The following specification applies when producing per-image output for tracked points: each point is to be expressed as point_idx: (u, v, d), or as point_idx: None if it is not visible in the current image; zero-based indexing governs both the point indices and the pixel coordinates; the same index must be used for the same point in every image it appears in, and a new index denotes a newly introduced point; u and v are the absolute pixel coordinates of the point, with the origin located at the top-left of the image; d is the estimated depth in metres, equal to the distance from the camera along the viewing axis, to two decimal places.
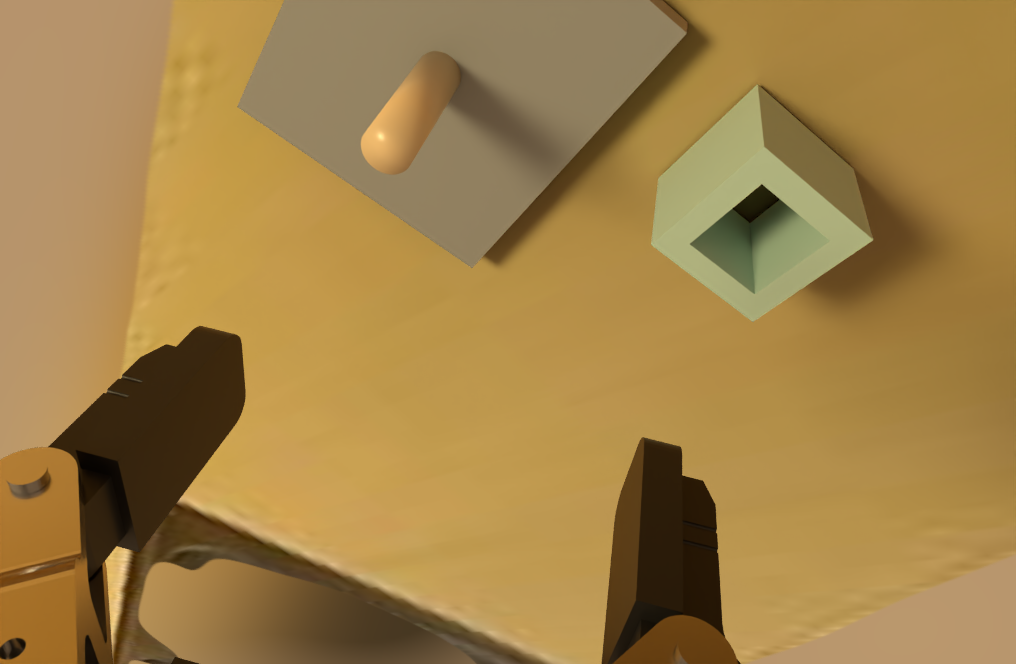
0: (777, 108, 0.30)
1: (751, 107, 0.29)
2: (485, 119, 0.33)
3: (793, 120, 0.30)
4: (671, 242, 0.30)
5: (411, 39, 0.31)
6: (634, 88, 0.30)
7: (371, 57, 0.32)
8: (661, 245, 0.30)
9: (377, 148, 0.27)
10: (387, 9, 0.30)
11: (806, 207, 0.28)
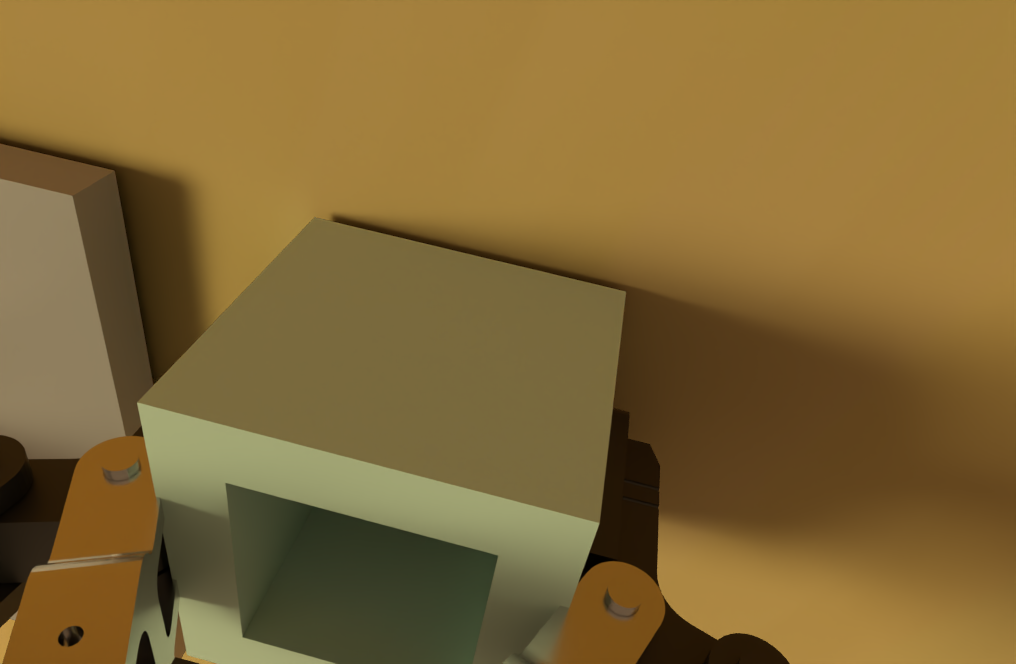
0: (356, 249, 0.13)
1: None
2: None
3: (410, 257, 0.13)
4: (211, 642, 0.12)
5: None
6: (99, 329, 0.15)
7: None
8: (203, 651, 0.12)
9: None
10: None
11: (366, 500, 0.09)
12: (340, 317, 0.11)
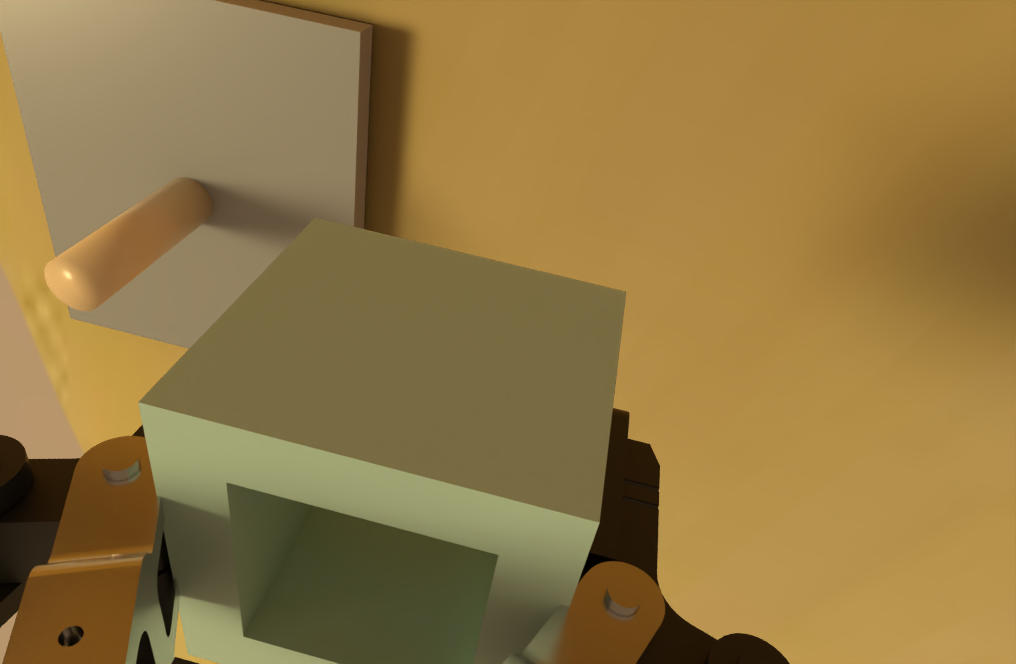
0: (357, 249, 0.13)
1: None
2: (255, 223, 0.29)
3: (411, 257, 0.13)
4: (212, 641, 0.12)
5: (149, 179, 0.29)
6: (355, 118, 0.26)
7: None
8: (204, 651, 0.12)
9: (65, 287, 0.24)
10: (115, 162, 0.29)
11: (367, 499, 0.09)
12: (341, 317, 0.11)
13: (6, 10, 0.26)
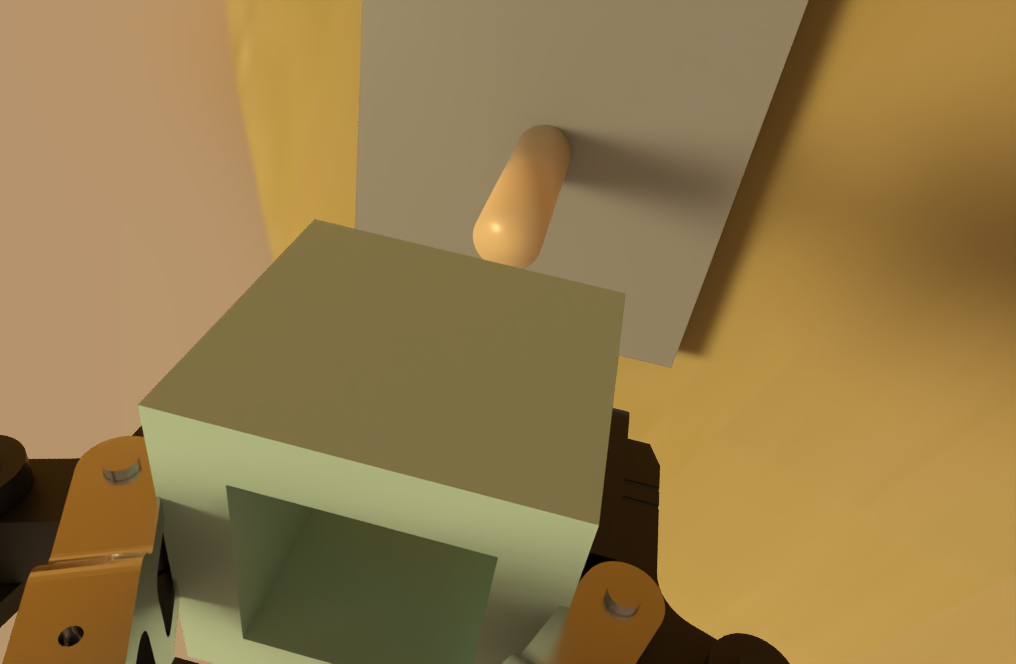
0: (356, 251, 0.13)
1: None
2: (617, 178, 0.26)
3: (411, 258, 0.13)
4: (212, 643, 0.12)
5: (499, 128, 0.26)
6: (787, 50, 0.23)
7: (465, 170, 0.27)
8: (203, 652, 0.12)
9: (495, 242, 0.20)
10: (463, 108, 0.26)
11: (366, 501, 0.09)
12: (340, 319, 0.11)
13: None
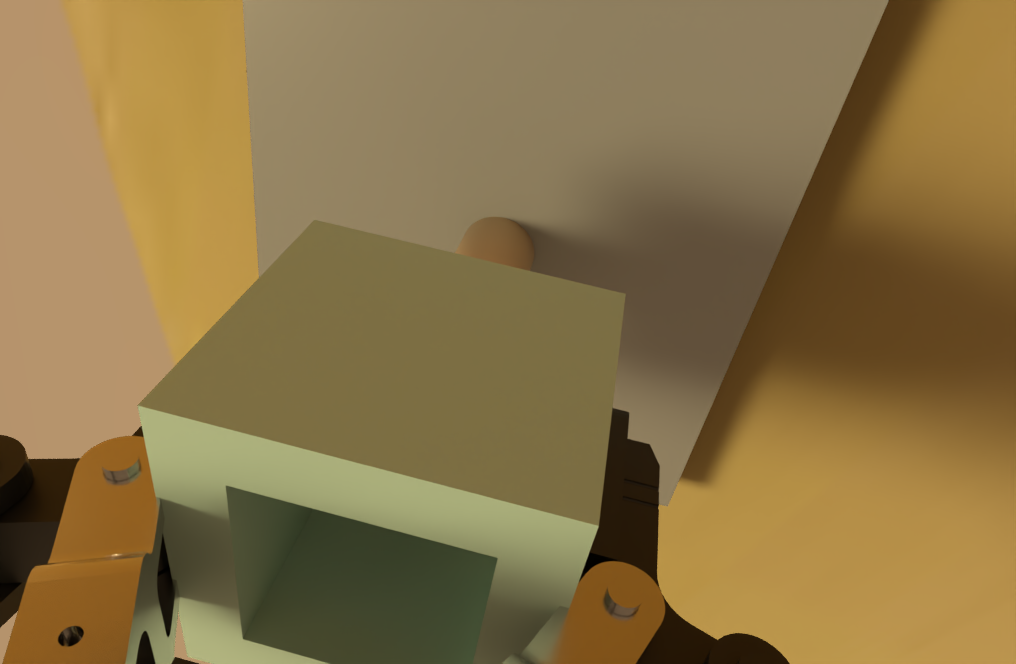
0: (356, 251, 0.13)
1: None
2: (595, 285, 0.20)
3: (411, 259, 0.13)
4: (211, 644, 0.12)
5: (438, 220, 0.19)
6: (829, 129, 0.16)
7: None
8: (203, 653, 0.12)
9: None
10: (388, 193, 0.19)
11: (365, 502, 0.09)
12: (340, 320, 0.11)
13: None
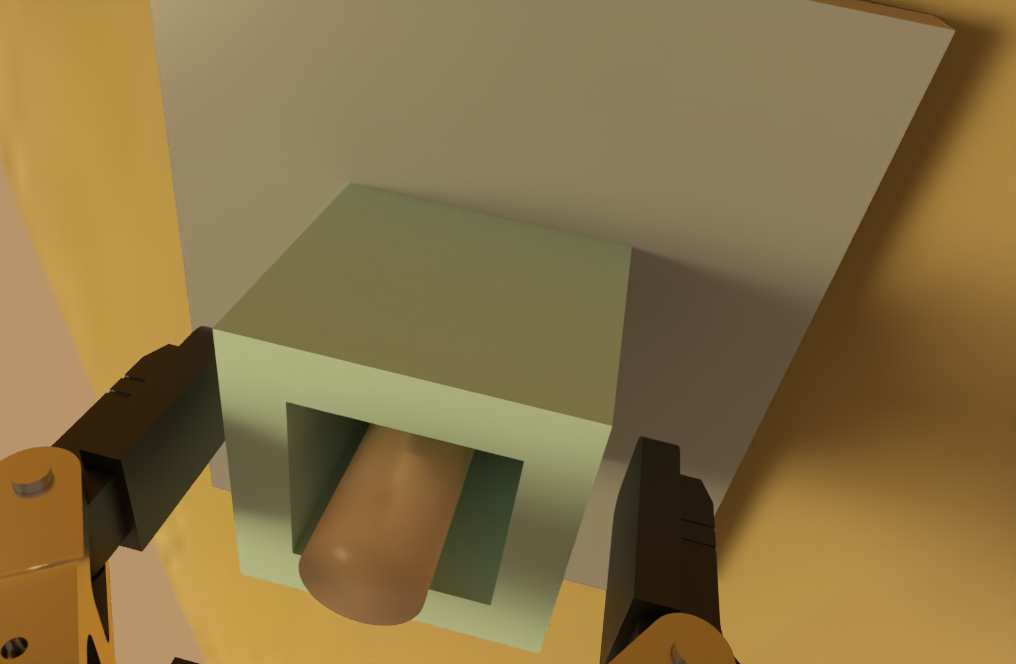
0: (389, 209, 0.14)
1: None
2: None
3: (438, 216, 0.14)
4: (264, 559, 0.14)
5: None
6: (867, 200, 0.13)
7: None
8: (255, 569, 0.14)
9: (341, 585, 0.11)
10: None
11: (409, 412, 0.11)
12: (379, 264, 0.13)
13: None
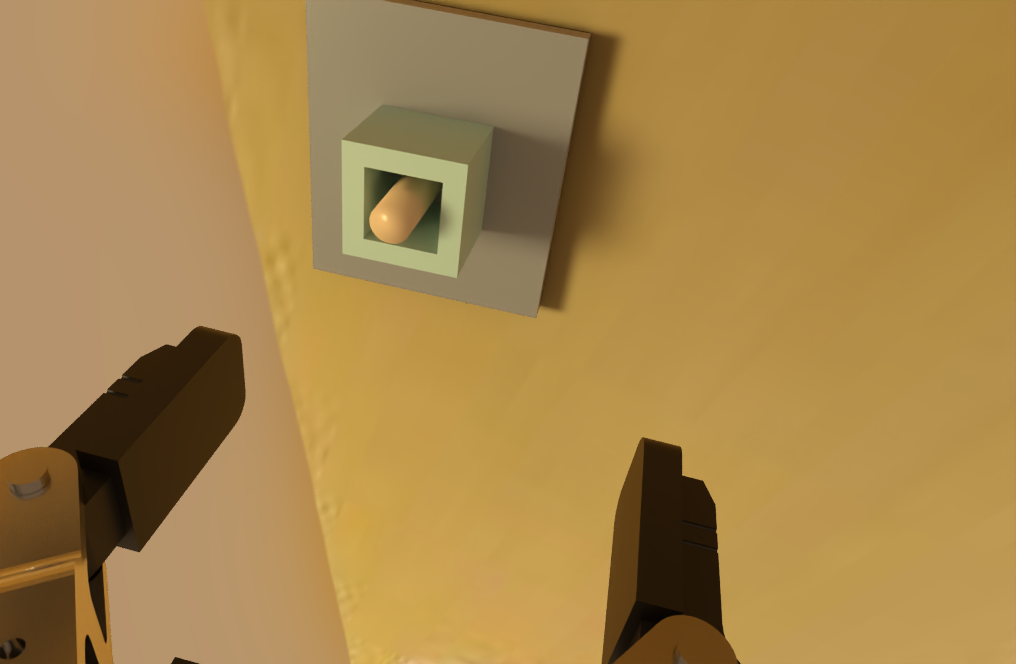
0: (398, 113, 0.37)
1: None
2: None
3: (417, 115, 0.37)
4: (352, 244, 0.36)
5: None
6: (575, 102, 0.35)
7: None
8: (348, 250, 0.36)
9: (383, 226, 0.33)
10: None
11: (405, 166, 0.33)
12: (394, 127, 0.35)
13: (315, 29, 0.36)
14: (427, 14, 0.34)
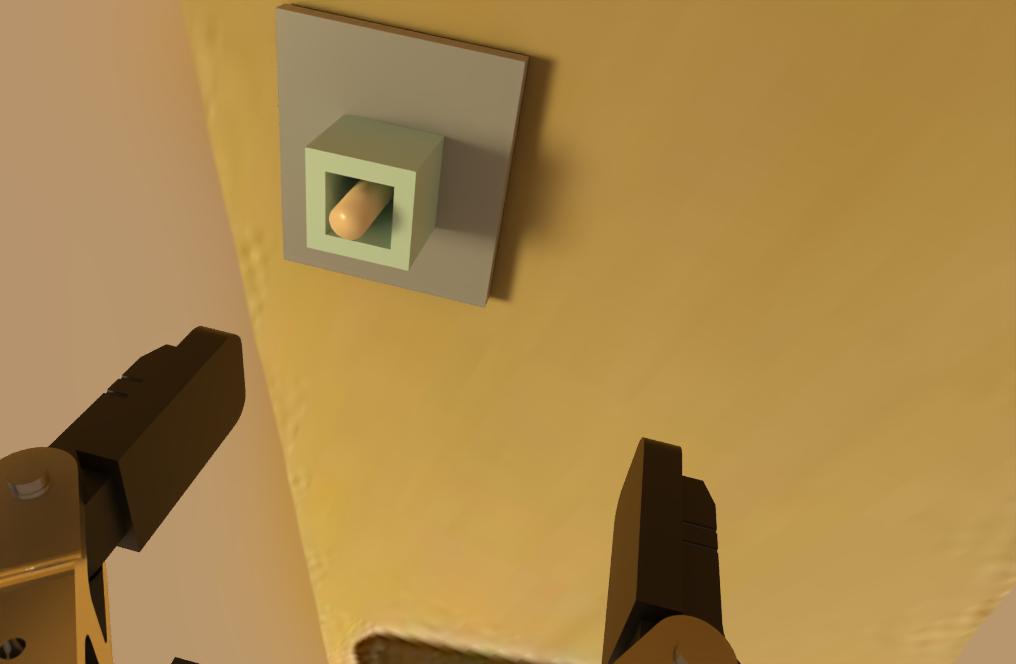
0: (358, 122, 0.41)
1: None
2: None
3: (375, 124, 0.41)
4: (315, 239, 0.40)
5: None
6: (515, 116, 0.40)
7: None
8: (312, 244, 0.41)
9: (341, 224, 0.38)
10: None
11: (361, 172, 0.38)
12: (353, 136, 0.39)
13: (284, 46, 0.40)
14: (384, 36, 0.39)
